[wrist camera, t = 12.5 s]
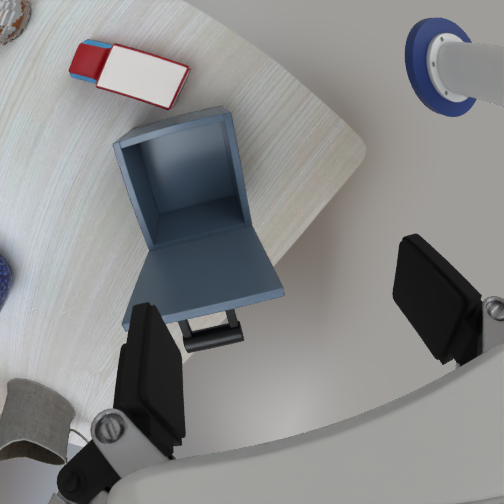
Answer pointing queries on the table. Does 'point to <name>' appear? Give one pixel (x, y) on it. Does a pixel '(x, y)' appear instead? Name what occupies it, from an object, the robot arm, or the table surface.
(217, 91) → the table surface
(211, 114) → the blue open box
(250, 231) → the lid
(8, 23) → the candy apple
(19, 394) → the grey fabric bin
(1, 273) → the planter
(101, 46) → the toy truck
